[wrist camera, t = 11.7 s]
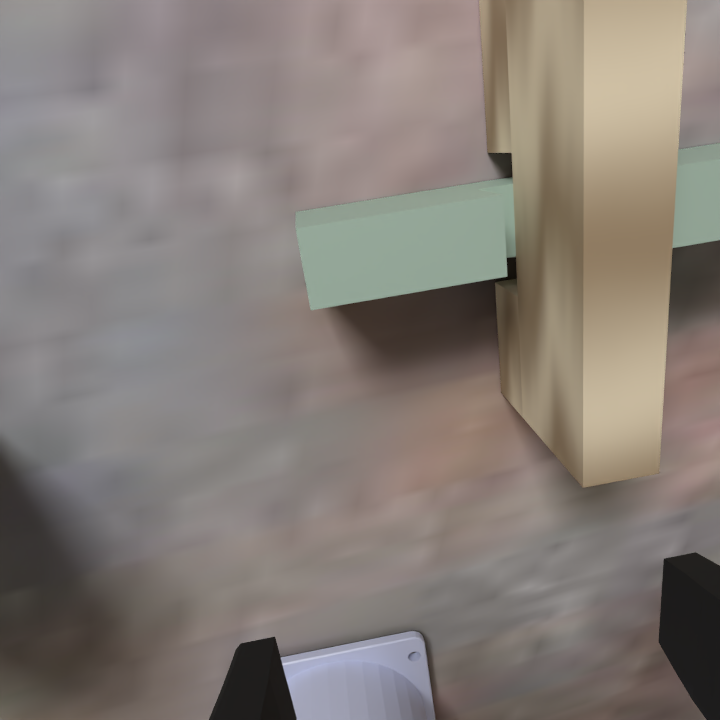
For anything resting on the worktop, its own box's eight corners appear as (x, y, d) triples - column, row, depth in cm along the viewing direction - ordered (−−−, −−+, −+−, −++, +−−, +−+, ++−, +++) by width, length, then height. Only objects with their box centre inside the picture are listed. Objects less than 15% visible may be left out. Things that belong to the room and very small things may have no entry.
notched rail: (731, 205, 18) (844, 218, 14) (307, 277, 17) (310, 310, 14) (738, 140, 17) (858, 136, 14) (295, 212, 17) (295, 228, 13)
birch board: (555, 382, 20) (659, 473, 14) (501, 392, 20) (582, 487, 14) (549, -11, 15) (693, -105, 10) (478, -1, 15) (584, -89, 10)
